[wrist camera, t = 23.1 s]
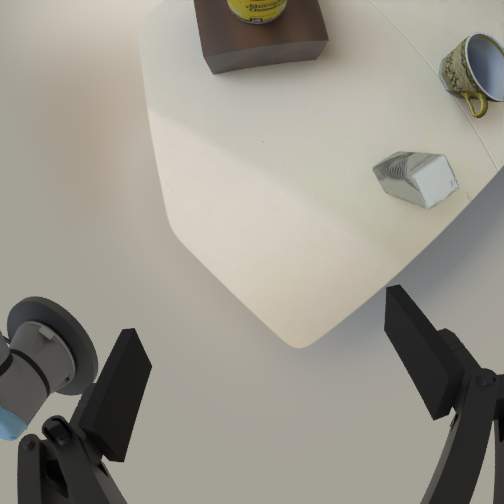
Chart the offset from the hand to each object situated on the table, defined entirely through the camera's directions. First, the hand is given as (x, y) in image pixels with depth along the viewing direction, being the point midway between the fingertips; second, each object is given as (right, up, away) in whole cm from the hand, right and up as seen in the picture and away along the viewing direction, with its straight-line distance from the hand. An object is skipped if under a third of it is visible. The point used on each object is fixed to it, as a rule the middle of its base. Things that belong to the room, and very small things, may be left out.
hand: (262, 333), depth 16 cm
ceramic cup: (+30, +30, +21) cm, 47 cm away
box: (+19, +15, +25) cm, 35 cm away
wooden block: (0, +34, +19) cm, 39 cm away
